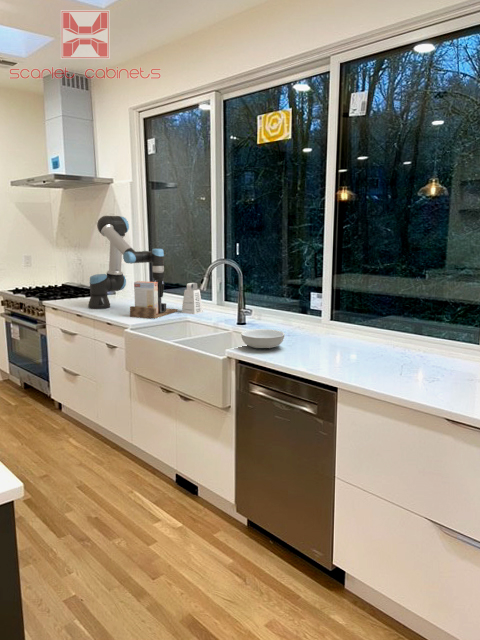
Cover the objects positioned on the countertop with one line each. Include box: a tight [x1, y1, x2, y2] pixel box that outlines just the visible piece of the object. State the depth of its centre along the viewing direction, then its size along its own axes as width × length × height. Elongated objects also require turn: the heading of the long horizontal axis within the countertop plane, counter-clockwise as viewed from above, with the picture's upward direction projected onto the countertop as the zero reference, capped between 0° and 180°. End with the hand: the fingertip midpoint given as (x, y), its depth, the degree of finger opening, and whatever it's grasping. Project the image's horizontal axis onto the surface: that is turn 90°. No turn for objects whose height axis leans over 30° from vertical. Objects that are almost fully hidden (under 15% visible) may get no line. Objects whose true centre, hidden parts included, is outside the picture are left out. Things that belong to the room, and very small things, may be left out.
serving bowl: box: [240, 328, 285, 349], centre depth 228 cm, size 21×21×7 cm
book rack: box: [129, 305, 179, 320], centre depth 314 cm, size 18×31×6 cm, turn 159°
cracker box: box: [133, 280, 158, 314], centre depth 304 cm, size 14×6×21 cm, turn 75°
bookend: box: [158, 297, 167, 313], centre depth 313 cm, size 14×10×10 cm
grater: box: [181, 282, 204, 315], centre depth 320 cm, size 10×10×20 cm
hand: (159, 307), depth 319 cm, fingers closed
